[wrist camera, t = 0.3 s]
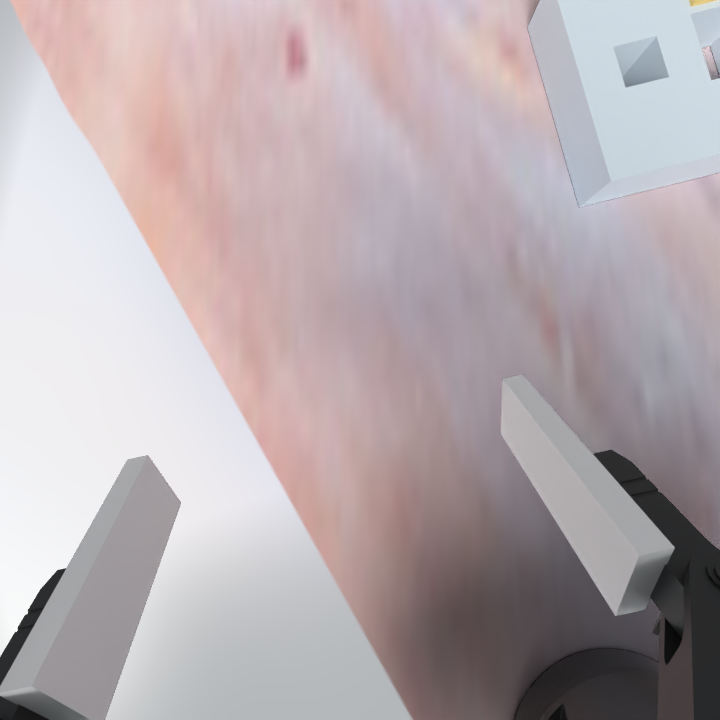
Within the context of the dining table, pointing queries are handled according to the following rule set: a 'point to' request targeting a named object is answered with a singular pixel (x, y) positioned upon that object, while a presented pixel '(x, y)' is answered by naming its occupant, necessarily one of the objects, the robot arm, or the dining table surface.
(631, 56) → the block
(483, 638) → the dining table surface
